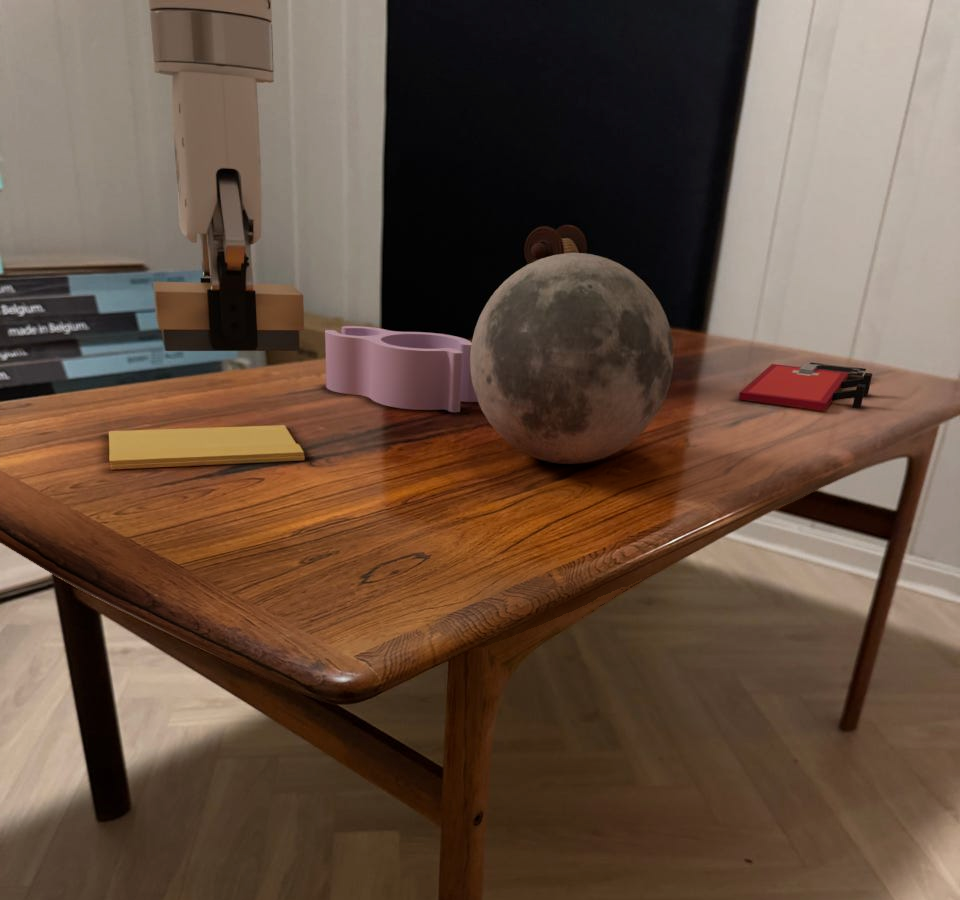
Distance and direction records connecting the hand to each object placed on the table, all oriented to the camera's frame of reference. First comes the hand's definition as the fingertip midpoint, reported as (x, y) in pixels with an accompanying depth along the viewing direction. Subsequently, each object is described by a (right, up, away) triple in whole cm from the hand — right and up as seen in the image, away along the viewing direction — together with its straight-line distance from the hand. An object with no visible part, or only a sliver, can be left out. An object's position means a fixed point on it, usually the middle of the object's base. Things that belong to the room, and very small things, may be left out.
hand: (230, 339), depth 70 cm
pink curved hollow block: (+8, +9, +51) cm, 53 cm away
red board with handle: (+67, +14, +68) cm, 96 cm away
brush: (0, 0, 0) cm, 0 cm away
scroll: (+27, +14, +63) cm, 70 cm away
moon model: (+27, -4, +29) cm, 40 cm away
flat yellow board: (-9, -3, +26) cm, 28 cm away
